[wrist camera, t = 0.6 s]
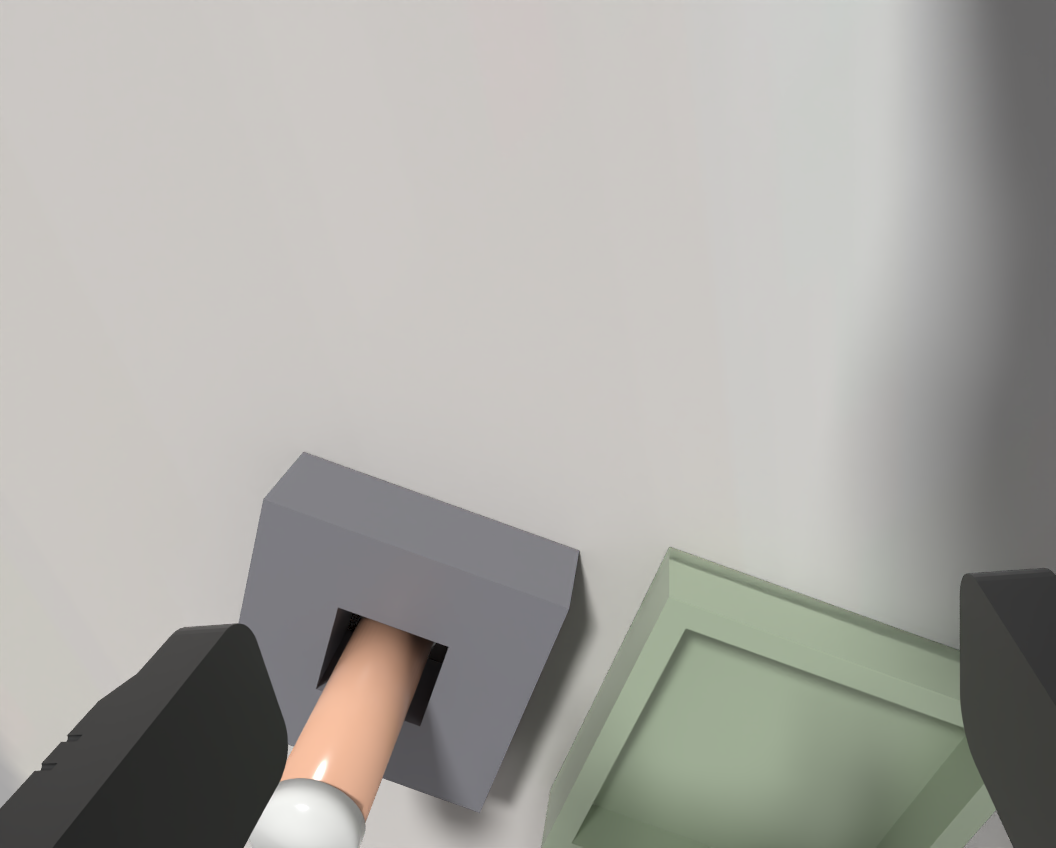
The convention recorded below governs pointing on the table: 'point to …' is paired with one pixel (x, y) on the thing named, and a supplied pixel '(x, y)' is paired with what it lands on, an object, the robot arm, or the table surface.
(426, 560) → the grey flat square piece
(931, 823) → the parts tray
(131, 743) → the robot arm
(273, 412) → the table surface
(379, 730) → the peg
